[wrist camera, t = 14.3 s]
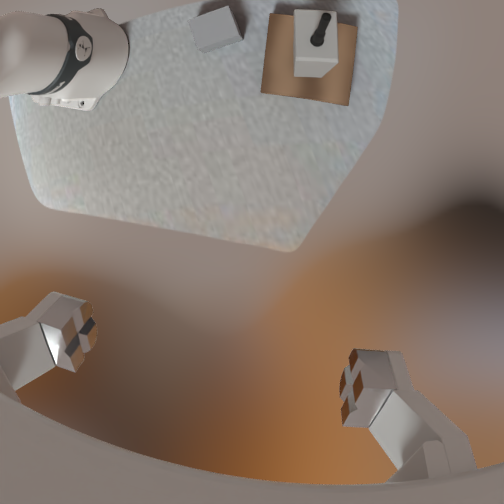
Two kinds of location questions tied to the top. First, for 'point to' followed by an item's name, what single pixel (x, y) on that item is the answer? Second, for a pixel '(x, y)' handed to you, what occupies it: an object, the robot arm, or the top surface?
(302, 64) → the vintage mobile phone
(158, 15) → the top surface
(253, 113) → the top surface
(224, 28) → the grey plastic box
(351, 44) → the walnut stand
